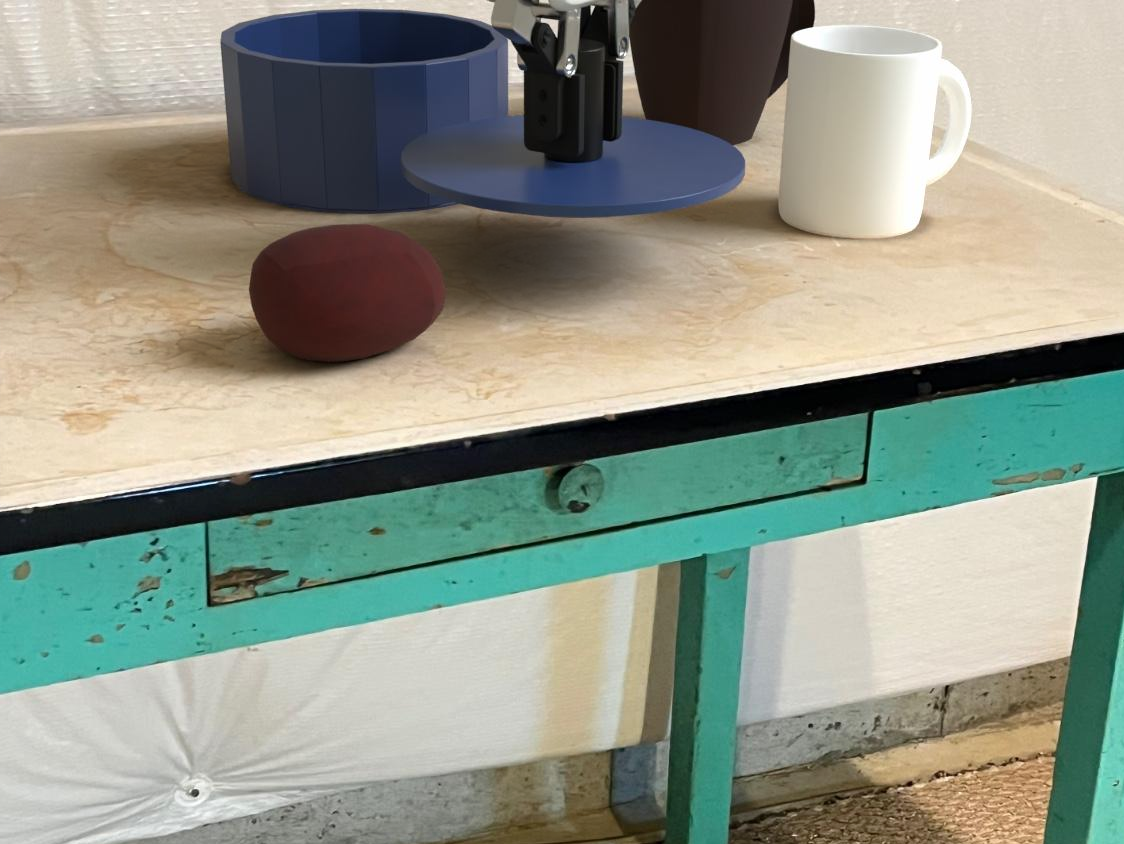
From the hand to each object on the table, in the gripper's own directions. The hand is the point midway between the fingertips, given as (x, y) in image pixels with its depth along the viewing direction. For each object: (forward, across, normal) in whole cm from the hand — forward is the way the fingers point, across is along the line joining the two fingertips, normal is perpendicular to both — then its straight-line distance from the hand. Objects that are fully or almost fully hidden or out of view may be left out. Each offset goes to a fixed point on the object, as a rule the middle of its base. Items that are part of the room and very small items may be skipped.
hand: (573, 141), depth 86 cm
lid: (+1, 0, 0) cm, 1 cm away
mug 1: (+7, -30, -6) cm, 31 cm away
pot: (+7, -8, -19) cm, 22 cm away
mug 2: (+7, -18, +10) cm, 22 cm away
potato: (+7, +16, -2) cm, 18 cm away
